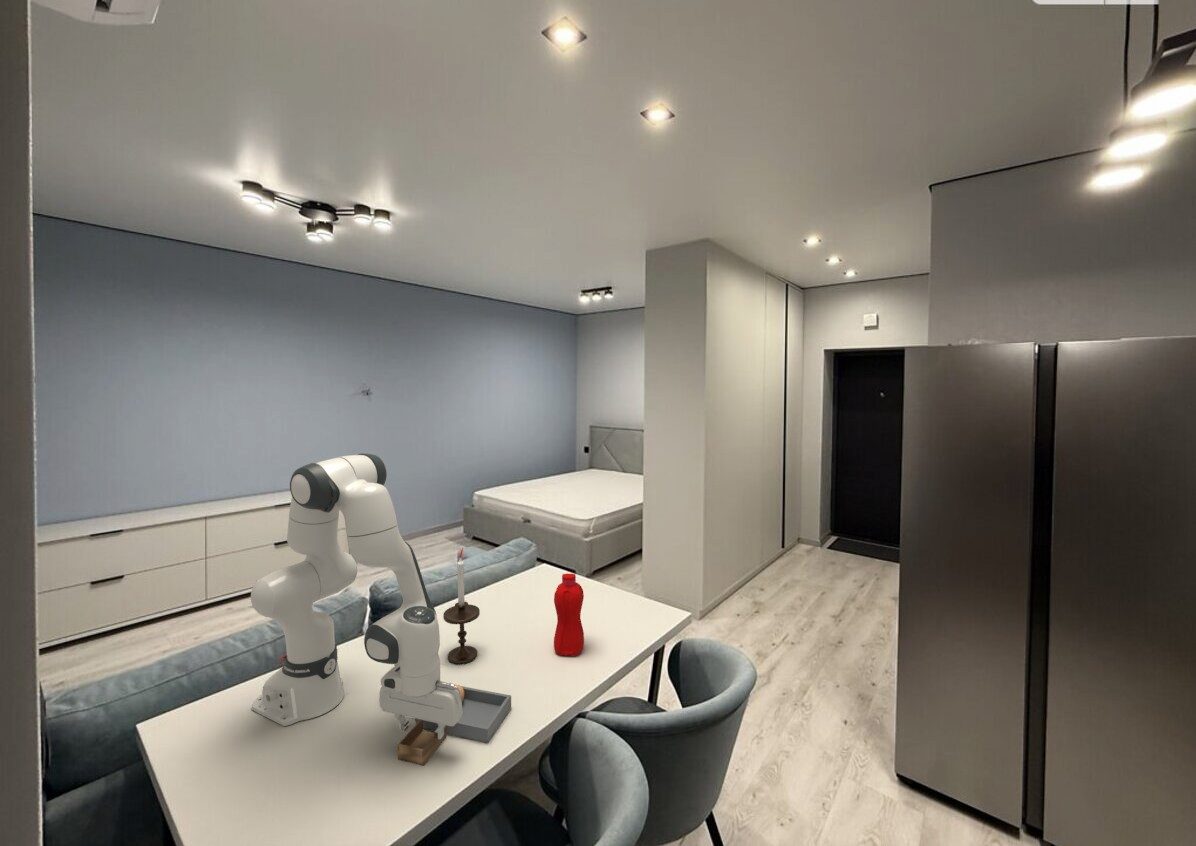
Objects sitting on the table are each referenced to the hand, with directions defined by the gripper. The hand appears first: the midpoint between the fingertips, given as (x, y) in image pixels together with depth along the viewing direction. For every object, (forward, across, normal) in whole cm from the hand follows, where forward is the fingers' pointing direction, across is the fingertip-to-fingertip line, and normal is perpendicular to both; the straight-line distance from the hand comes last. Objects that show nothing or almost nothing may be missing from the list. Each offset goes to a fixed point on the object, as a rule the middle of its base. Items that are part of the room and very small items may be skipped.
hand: (421, 732), depth 115 cm
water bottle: (+4, -20, -50) cm, 54 cm away
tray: (+4, -5, -12) cm, 13 cm away
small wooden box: (+4, 0, 0) cm, 4 cm away
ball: (+1, 0, -15) cm, 15 cm away
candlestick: (+4, +10, -36) cm, 38 cm away
